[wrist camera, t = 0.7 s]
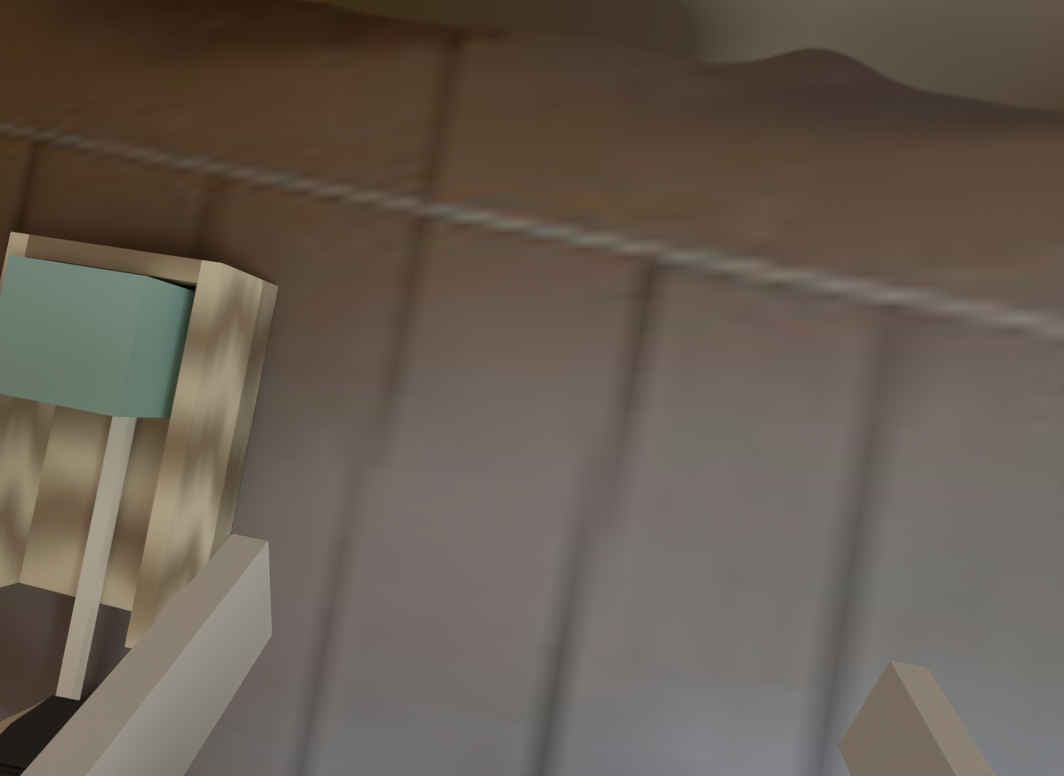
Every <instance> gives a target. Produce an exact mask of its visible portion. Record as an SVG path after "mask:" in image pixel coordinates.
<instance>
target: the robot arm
mask: <svg viewBox="0 0 1064 776" xmlns="http://www.w3.org/2000/svg"><path fill="white" fill-rule="evenodd" d="M271 636H272V624H271V599H270V573H269V547H268V541H266V540H261V539H256V538H251V537H245V536H240V535H235V534H232V535H231V536H230V537H229V539H228V540H227V541H226V542H225V543H224V544H223V545H222V546H221V548H220V549H219V550H218V551H217V552H216V553H215V554H214V556H213V557H212V558H211V559H210V560H209V561H208V562H207V564H206V565H205V566H204V567H203V568H202V569H201V570H200V572H199V573H198V574H197V575H196V576H195V577H194V578H193V580H192V581H191V582H190V583H189V584H188V585H187V586H186V588H185V589H184V590H183V591H182V592H181V593H180V594H179V595H178V597H177V598H176V599H175V600H174V601H173V602H172V603H171V605H170V606H169V607H168V608H167V609H166V610H165V611H164V613H163V614H162V615H161V616H160V617H159V618H158V619H157V621H156V622H155V623H154V624H153V625H152V626H151V627H150V629H149V630H148V631H147V632H146V633H145V634H144V635H143V637H142V638H141V639H140V640H139V641H138V642H137V643H136V644H135V646H134V647H133V648H132V649H131V650H130V651H129V652H128V654H127V655H126V656H125V657H124V658H123V659H122V660H121V662H120V663H119V664H118V665H117V666H116V667H115V668H114V670H113V671H112V672H111V673H110V674H109V675H108V676H107V678H106V679H105V680H104V681H103V682H102V683H101V684H100V686H99V687H98V688H97V689H96V690H95V691H94V692H93V693H92V695H91V696H90V697H89V698H88V699H87V700H86V701H80V700H75V699H70V698H65V697H60V696H55V695H53V696H51V697H50V698H48V699H47V700H45V701H43V702H42V703H40V704H39V705H37V706H36V707H34V708H33V709H31V710H30V711H28V712H27V713H25V714H24V715H22V716H21V717H19V718H18V719H16V720H15V721H13V722H12V723H11V724H10V725H9V726H8V727H7V728H6V729H5V730H4V731H3V732H2V733H1V734H0V776H184V775H185V773H186V772H187V770H188V769H189V767H190V765H191V764H192V762H193V760H194V759H195V757H196V756H197V754H198V752H199V751H200V749H201V748H202V746H203V744H204V743H205V741H206V740H207V738H208V736H209V735H210V733H211V732H212V730H213V728H214V727H215V725H216V724H217V722H218V720H219V719H220V717H221V716H222V714H223V712H224V711H225V709H226V708H227V706H228V704H229V703H230V701H231V700H232V698H233V696H234V695H235V693H236V692H237V690H238V688H239V687H240V685H241V684H242V682H243V680H244V679H245V677H246V676H247V674H248V672H249V671H250V669H251V668H252V666H253V664H254V663H255V661H256V660H257V658H258V656H259V655H260V653H261V652H262V650H263V648H264V647H265V645H266V644H267V642H268V640H269V639H270V637H271ZM839 748H840V750H841V753H842V755H843V757H844V760H845V762H846V765H847V767H848V770H849V772H850V775H851V776H995V774H994V773H993V771H992V770H991V768H990V766H989V765H988V763H987V762H986V760H985V759H984V757H983V755H982V754H981V752H980V751H979V749H978V747H977V746H976V744H975V743H974V741H973V740H972V738H971V736H970V735H969V733H968V732H967V730H966V728H965V727H964V725H963V724H962V722H961V721H960V719H959V717H958V716H957V714H956V713H955V711H954V709H953V708H952V706H951V705H950V703H949V702H948V700H947V698H946V697H945V695H944V694H943V692H942V690H941V689H940V687H939V686H938V684H937V683H936V681H935V679H934V678H933V676H932V675H931V673H930V672H929V670H928V668H925V667H920V666H915V665H910V664H905V663H899V662H894V661H890V662H889V664H888V665H887V667H886V669H885V670H884V672H883V674H882V675H881V677H880V678H879V680H878V682H877V683H876V685H875V687H874V688H873V690H872V691H871V693H870V695H869V696H868V698H867V699H866V701H865V703H864V704H863V706H862V708H861V709H860V711H859V712H858V714H857V716H856V717H855V719H854V721H853V722H852V724H851V725H850V727H849V729H848V730H847V732H846V734H845V735H844V737H843V738H842V740H841V742H840V743H839Z"/></svg>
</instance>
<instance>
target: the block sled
mask: <svg viewBox="0 0 1064 776" xmlns="http://www.w3.org/2000/svg"><path fill="white" fill-rule="evenodd" d="M195 293H196V292H195V291H191V290H188V289H185V288H182V287H179V286H176V285H173V284H170V283H166V282H163V281H160V280H157V279H154V278H151V277H148V276H143V275H136V274H130V273H123V272H117V271H110V270H104V269H98V268H91V267H85V266H78V265H72V264H65V263H59V262H53V261H46V260H40V259H33V258H27V257H20V256H14V255H9V257H8V262H7V267H6V271H5V276H4V281H3V285H2V290H1V295H0V394H4V395H9V396H14V397H19V398H24V399H29V400H34V401H39V402H44V403H49V404H54V405H60V406H65V407H70V408H75V409H80V410H85V411H90V412H95V413H100V414H105V415H110V416H113V417H112V422H111V427H110V432H109V437H108V442H107V447H106V452H105V456H104V461H103V466H102V471H101V476H100V481H99V486H98V491H97V496H96V501H95V505H94V510H93V515H92V520H91V525H90V530H89V535H88V540H87V545H86V550H85V554H84V559H83V564H82V569H81V574H80V579H79V584H78V589H77V594H76V599H75V603H74V608H73V613H72V618H71V623H70V628H69V633H68V638H67V643H66V647H65V652H64V657H63V662H62V667H61V672H60V677H59V682H58V687H57V692H56V696H60V697H65V698H70V699H75V700H80V696H81V692H82V687H83V682H84V677H85V672H86V667H87V662H88V657H89V652H90V647H91V642H92V637H93V632H94V627H95V622H96V617H97V612H98V608H99V603H100V598H101V593H102V588H103V583H104V578H105V573H106V568H107V563H108V558H109V553H110V548H111V543H112V538H113V533H114V529H115V524H116V519H117V514H118V509H119V504H120V499H121V494H122V489H123V484H124V479H125V474H126V469H127V464H128V459H129V454H130V450H131V445H132V440H133V435H134V430H135V425H136V420H137V417H147V418H170V417H171V412H172V407H173V402H174V397H175V392H176V387H177V382H178V377H179V372H180V367H181V362H182V357H183V352H184V347H185V342H186V337H187V332H188V328H189V323H190V318H191V313H192V308H193V303H194V298H195ZM46 700H47V699H46ZM44 701H45V700H44ZM42 702H43V701H42ZM42 702H40V703H42ZM40 703H38V704H36V705H34V706H32V707H30V708H28V709H26V710H24V711H22V712H20V713H18V714H16V715H13V716H11V717H9V718H7V719H5V720H3V721H1V722H0V734H1V733H2V732H3V731H4V730H5V729H6V728H7V727H8V726H9V725H10V724H11V723H12V722H13V721H15V720H16V719H18V718H19V717H21V716H22V715H24V714H25V713H27V712H28V711H30V710H31V709H33V708H34V707H36V706H37V705H39V704H40Z"/></svg>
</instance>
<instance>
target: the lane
mask: <svg viewBox="0 0 1064 776" xmlns="http://www.w3.org/2000/svg"><path fill="white" fill-rule="evenodd" d="M9 255H14V256H20V257H27V258H33V259H40V260H46V261H53V262H59V263H65V264H72V265H78V266H85V267H91V268H98V269H104V270H110V271H117V272H123V273H130V274H136V275H143V276H148V277H151V278H154V279H157V280H160V281H163V282H166V283H170V284H173V285H176V286H179V287H182V288H185V289H188V290H191V291H195V292H196V293H195V298H194V303H193V308H192V313H191V318H190V323H189V328H188V332H187V337H186V342H185V347H184V352H183V357H182V362H181V367H180V372H179V377H178V382H177V387H176V392H175V397H174V402H173V407H172V412H171V417H170V418H147V417H137V420H136V425H135V430H134V435H133V440H132V445H131V450H130V454H129V459H128V464H127V469H126V474H125V479H124V484H123V489H122V494H121V499H120V504H119V509H118V514H117V519H116V524H115V529H114V533H113V538H112V543H111V548H110V553H109V558H108V563H107V568H106V573H105V578H104V583H103V588H102V593H101V598H100V603H101V604H105V605H109V606H113V607H117V608H121V609H125V610H129V611H132V612H131V617H130V622H129V627H128V632H127V637H126V642H125V647H128V648H133V647H134V646H135V644H136V643H137V642H138V641H139V640H140V639H141V638H142V637H143V635H144V634H145V633H146V632H147V631H148V630H149V629H150V627H151V626H152V625H153V624H154V623H155V622H156V621H157V619H158V618H159V617H160V616H161V615H162V614H163V613H164V611H165V610H166V609H167V608H168V607H169V606H170V605H171V603H172V602H173V601H174V600H175V599H176V598H177V597H178V595H179V594H180V593H181V592H182V591H183V590H184V589H185V588H186V586H187V585H188V584H189V583H190V582H191V581H192V580H193V578H194V577H195V576H196V575H197V574H198V573H199V572H200V570H201V569H202V568H203V567H204V566H205V565H206V564H207V562H208V561H209V560H210V559H211V558H212V557H213V556H214V554H215V553H216V552H217V551H218V550H219V549H220V548H221V546H222V545H223V544H224V543H225V542H226V541H227V540H228V539H229V537H230V534H231V529H232V524H233V519H234V514H235V509H236V503H237V498H238V493H239V488H240V483H241V478H242V473H243V467H244V462H245V457H246V452H247V447H248V442H249V437H250V431H251V426H252V421H253V416H254V411H255V406H256V401H257V395H258V390H259V385H260V380H261V375H262V370H263V365H264V359H265V354H266V349H267V344H268V339H269V334H270V329H271V323H272V318H273V313H274V308H275V303H276V298H277V293H278V287H279V286H276V285H274V284H271V283H269V282H267V281H264V280H262V279H259V278H257V277H255V276H252V275H250V274H247V273H245V272H243V271H240V270H238V269H235V268H233V267H230V266H228V265H226V264H223V263H218V262H211V261H204V260H197V259H191V258H184V257H177V256H170V255H164V254H157V253H150V252H143V251H137V250H130V249H123V248H116V247H110V246H103V245H96V244H90V243H83V242H76V241H69V240H63V239H56V238H49V237H42V236H36V235H29V234H22V233H15V232H11V233H10V238H9V242H8V247H7V252H6V256H5V261H4V266H3V270H2V275H1V280H0V295H1V290H2V285H3V281H4V276H5V271H6V267H7V262H8V257H9ZM112 417H113V416H110V415H105V414H100V413H95V412H90V411H85V410H80V409H75V408H70V407H65V406H60V405H54V404H49V403H44V402H39V401H34V400H29V399H24V398H19V397H14V396H9V395H4V394H0V587H4V586H8V585H11V584H15V583H23V584H27V585H31V586H35V587H39V588H43V589H46V590H50V591H54V592H58V593H62V594H66V595H70V596H74V597H76V594H77V589H78V584H79V579H80V574H81V569H82V564H83V559H84V554H85V550H86V545H87V540H88V535H89V530H90V525H91V520H92V515H93V510H94V505H95V501H96V496H97V491H98V486H99V481H100V476H101V471H102V466H103V461H104V456H105V452H106V447H107V442H108V437H109V432H110V427H111V422H112Z"/></svg>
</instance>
